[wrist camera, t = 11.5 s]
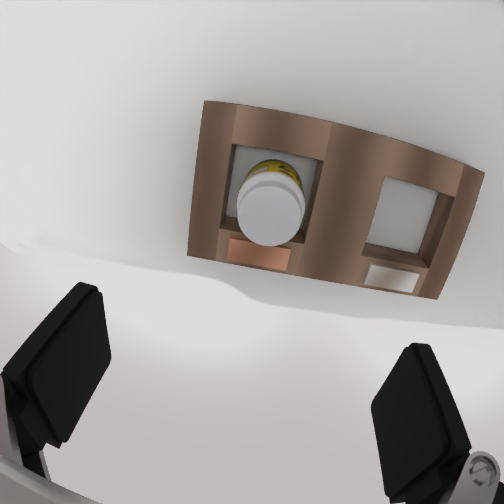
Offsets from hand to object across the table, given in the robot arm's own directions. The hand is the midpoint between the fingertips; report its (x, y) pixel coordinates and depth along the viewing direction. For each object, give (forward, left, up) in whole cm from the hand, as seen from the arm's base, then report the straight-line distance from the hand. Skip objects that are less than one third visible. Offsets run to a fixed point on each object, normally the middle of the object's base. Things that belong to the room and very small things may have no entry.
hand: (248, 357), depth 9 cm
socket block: (-6, 0, -20) cm, 21 cm away
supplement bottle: (0, 0, -20) cm, 20 cm away
